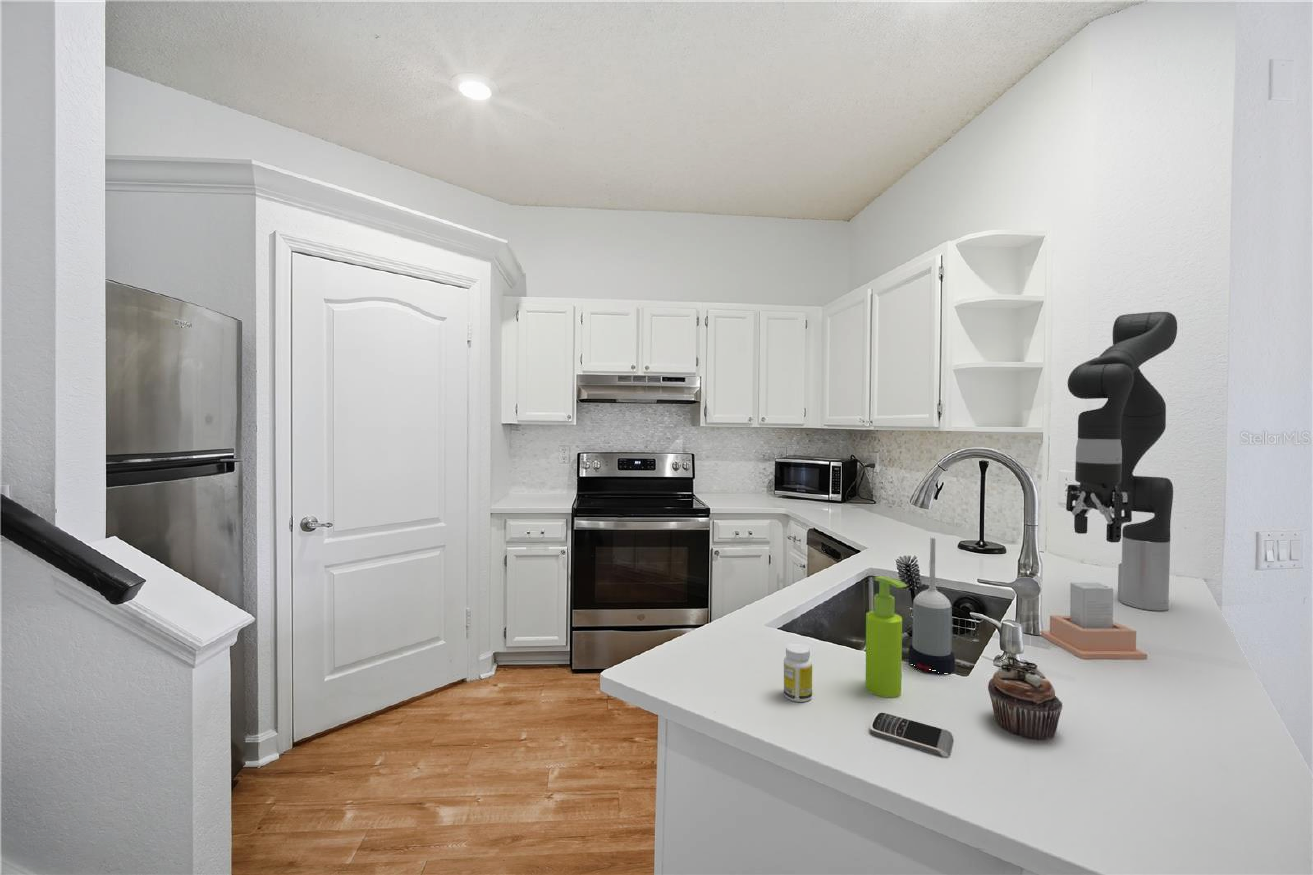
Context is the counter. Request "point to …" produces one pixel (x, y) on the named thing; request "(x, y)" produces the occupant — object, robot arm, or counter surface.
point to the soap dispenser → (884, 642)
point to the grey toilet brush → (932, 628)
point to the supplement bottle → (798, 673)
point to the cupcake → (1024, 700)
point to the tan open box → (1093, 640)
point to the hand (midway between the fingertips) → (1096, 537)
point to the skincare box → (1091, 605)
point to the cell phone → (912, 734)
